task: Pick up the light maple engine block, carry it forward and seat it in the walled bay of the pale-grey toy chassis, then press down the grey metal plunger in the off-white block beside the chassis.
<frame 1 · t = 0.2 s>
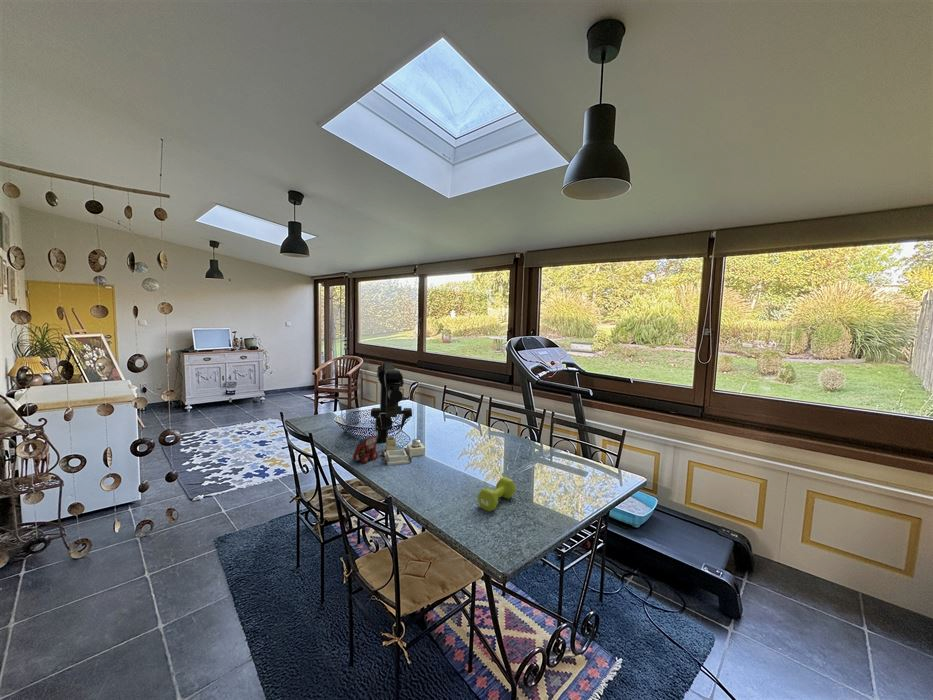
hand: (391, 430, 166), 14 cm above the table, fingers open, 9 cm apart
dumbbell: (496, 503, 131), on the table
plunger: (416, 443, 176), point 5 cm above the table, slide at 0.0 cm
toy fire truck: (365, 460, 165), on the table
chassis: (396, 458, 168), on the table
plunger housing: (415, 453, 176), on the table
engine block: (390, 450, 178), on the table
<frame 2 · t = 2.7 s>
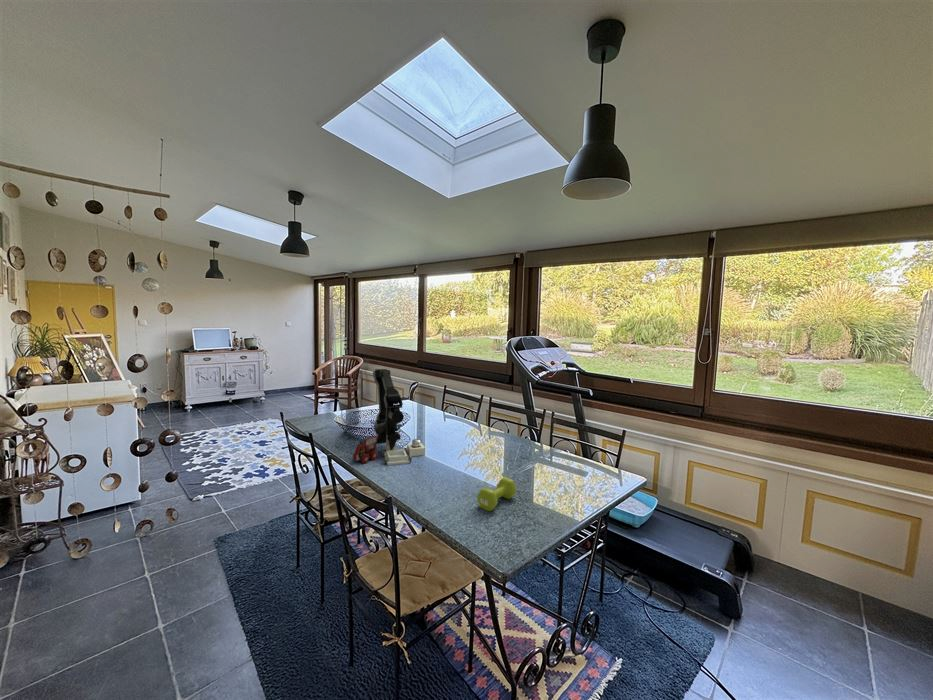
hand: (390, 448, 178), 1 cm above the table, fingers closed on engine block, 4 cm apart
engine block: (390, 450, 178), on the table, touching gripper
everything else where it was.
when the fingers open (4 cm above the table, at t = 6.6 s): engine block drops 2 cm, resting on chassis.
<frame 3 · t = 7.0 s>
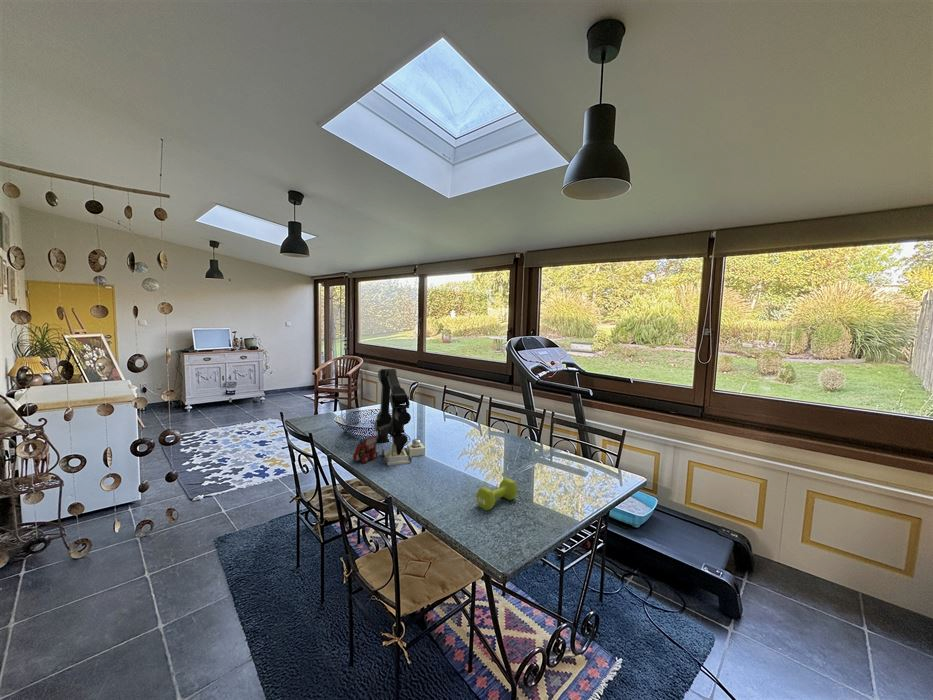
hand: (396, 451, 167), 4 cm above the table, fingers open, 9 cm apart
engine block: (396, 457, 167), point 1 cm above the table, touching chassis
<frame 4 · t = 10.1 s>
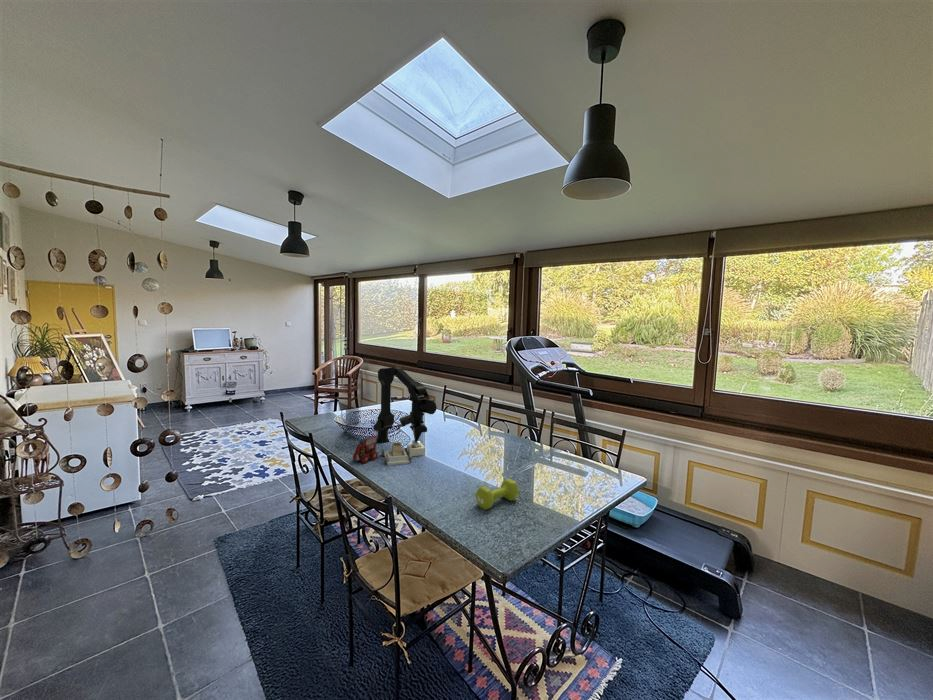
hand: (416, 441, 176), 6 cm above the table, fingers closed, pressing on plunger
plunger: (416, 444, 176), point 4 cm above the table, slide at 0.5 cm, touching gripper
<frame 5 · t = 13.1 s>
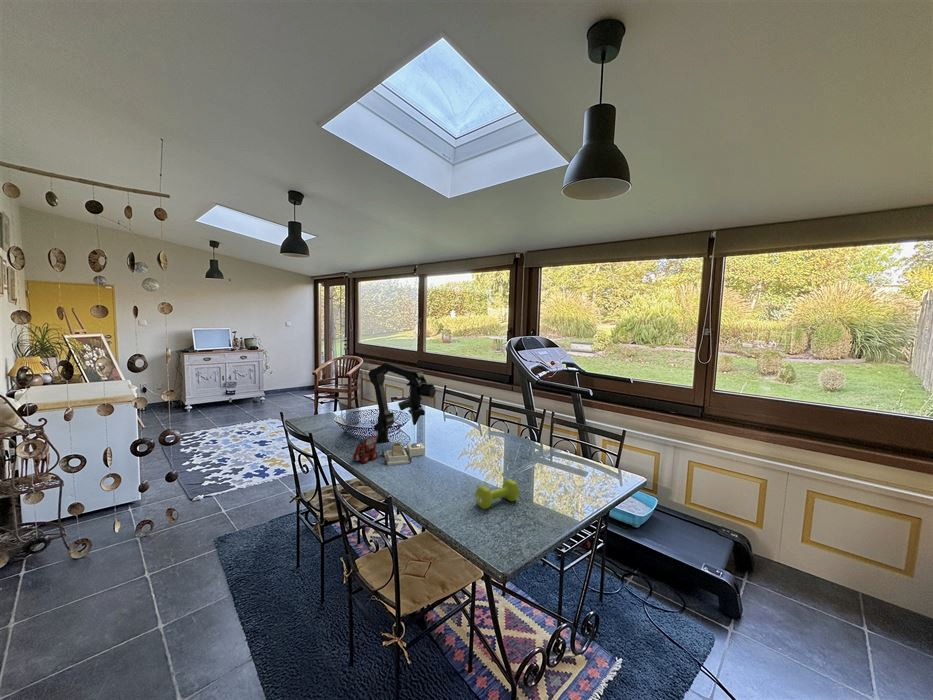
hand: (414, 424, 183), 12 cm above the table, fingers closed
plunger: (415, 447, 176), point 3 cm above the table, slide at 2.1 cm
at the end: engine block 0.3 cm from the target spot on the chassis, point 1.0 cm above the chassis's base; engine block tilted 0°; plunger slide at 2.1 cm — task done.
